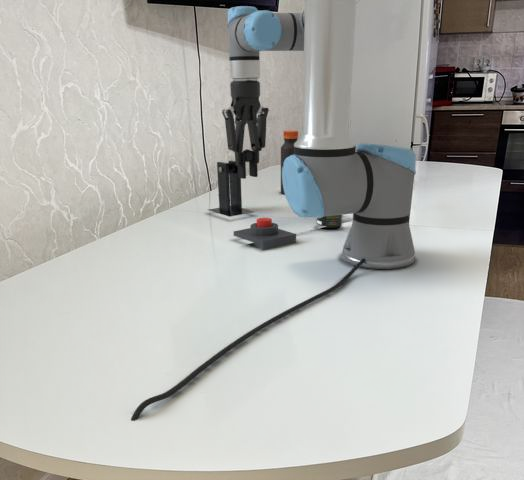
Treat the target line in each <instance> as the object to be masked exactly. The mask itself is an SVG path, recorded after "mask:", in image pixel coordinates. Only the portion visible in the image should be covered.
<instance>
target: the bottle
mask: <svg viewBox="0 0 524 480" xmlns="http://www.w3.org/2000/svg"><path fill="white" fill-rule="evenodd" d="M298 139H299V131H298V130H284V131H283V141H284V143H283V144H282V145H281V146H280V193H281V194H283V195H285V193H284V188H283V182H282V167H283V166H284V164H283V163H284V161H285V159H286V158H287V157H289V156H291V155H294V143H295V142H296V141H297V140H298Z"/></svg>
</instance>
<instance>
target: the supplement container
mask: <svg viewBox="0 0 524 480" xmlns="http://www.w3.org/2000/svg"><path fill="white" fill-rule="evenodd" d="M316 225H317V226H320V227H318V229H319V230H323V231H337V230H339V229H341V228H342V226H343V215H334V216H325V217H322V218H316ZM321 226H322V227H321Z"/></svg>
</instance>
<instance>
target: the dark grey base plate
mask: <svg viewBox="0 0 524 480" xmlns="http://www.w3.org/2000/svg"><path fill="white" fill-rule="evenodd" d="M233 237H237V238H240V239H243V240H245V241H248V242H249V243H246V245H247V246H250V247H253V248H255V249H259V250H261V251H265V250H270V249H275V248H279V247H282V246H288V245H291V244H295V243H297V233H294V232H290V231H288V230H284V229H281V228H279V224H277V223H275V222H272V226H271V227H257V222H254V223H252V224H250V227H248V228H244V229H239V230H234V231H233Z"/></svg>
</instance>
